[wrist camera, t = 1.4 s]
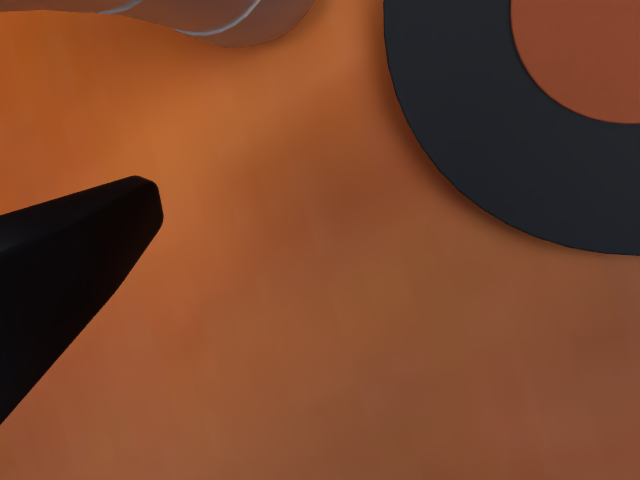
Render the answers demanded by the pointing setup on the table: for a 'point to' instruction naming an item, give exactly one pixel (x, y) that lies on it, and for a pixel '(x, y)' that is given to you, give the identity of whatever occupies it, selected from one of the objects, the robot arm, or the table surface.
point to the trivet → (528, 109)
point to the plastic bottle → (192, 16)
